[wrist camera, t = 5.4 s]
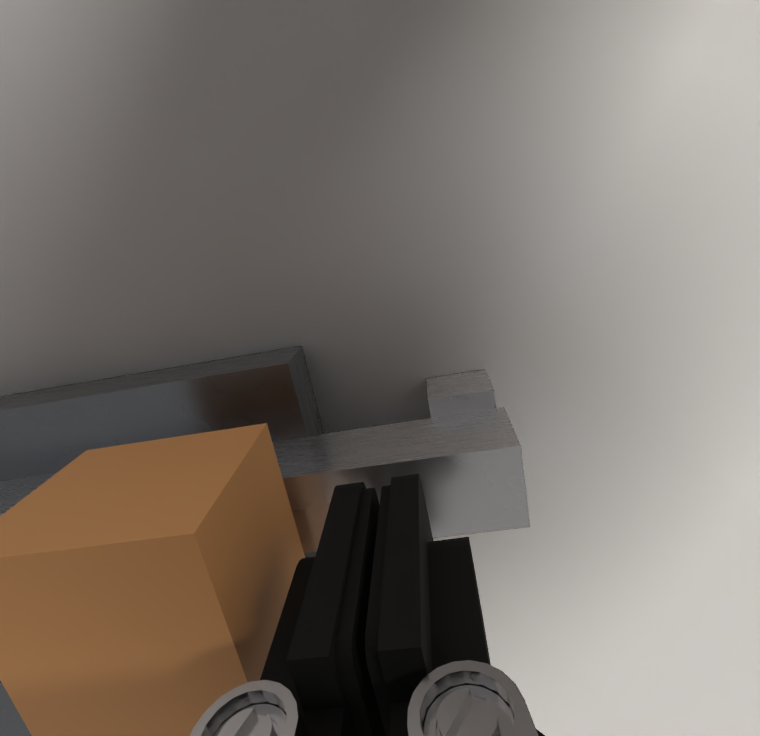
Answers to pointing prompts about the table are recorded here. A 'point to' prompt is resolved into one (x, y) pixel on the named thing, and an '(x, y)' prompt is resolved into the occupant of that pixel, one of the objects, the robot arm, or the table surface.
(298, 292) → the table surface
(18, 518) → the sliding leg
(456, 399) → the bolt plate
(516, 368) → the table surface
